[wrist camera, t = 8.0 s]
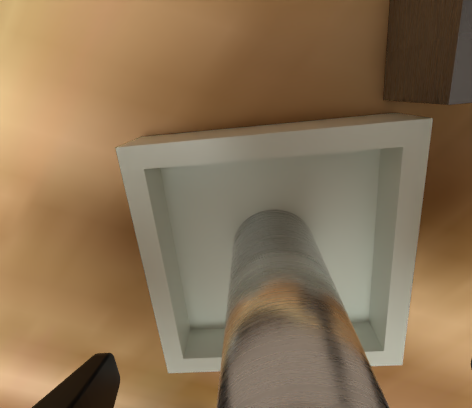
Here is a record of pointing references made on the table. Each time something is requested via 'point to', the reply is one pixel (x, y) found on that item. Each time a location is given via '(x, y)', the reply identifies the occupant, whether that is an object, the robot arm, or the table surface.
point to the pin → (289, 325)
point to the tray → (281, 198)
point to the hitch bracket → (429, 52)
